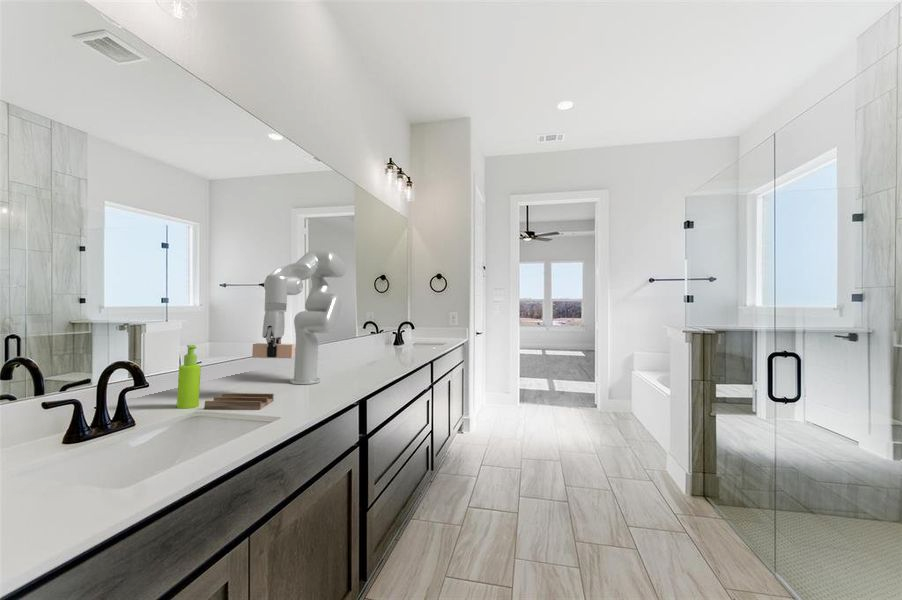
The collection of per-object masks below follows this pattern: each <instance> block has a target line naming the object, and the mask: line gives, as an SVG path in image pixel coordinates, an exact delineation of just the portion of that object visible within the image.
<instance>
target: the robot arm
mask: <svg viewBox="0 0 902 600" xmlns="http://www.w3.org/2000/svg"><path fill="white" fill-rule="evenodd" d="M346 270H347V269H346V264H345V262H344V261H343V259H342V258H340V257H339V256H338V255H337V254H336V253H334V252H333V251H330V250H329V251H328V250H310V251H308V252H306V253H305V254H304V255H302V256H301V258H299V259H298V260H297V261H296V262H294V263H290V264H287V265H285V266H281V267H278V268H277V269H274V270H272V272H271V273H269V274H268V275H267V276H266V277H265V279H264V282H263V288H264V291H265V293H264V315H263V324H262V325H263V326H262V336H261V337H262V338H264V339H265V341H266V343H267V357H276V351H277V346H276V344H282V338H283V336H284V335H285V328H286V327H285V325H286V324H285V318H286V317H285V313H286V312H287V305H288V303H287V300H288V296H296V295H299V294H300V293H301V292H302V291H303V289H304V282H303V281H305V280H308V279H311V280H310V281H311V288H310V291H309V293H308V295H307V298H306V300H305V303H304V308H305V310H304V311H299V312H298V313H297V314H295V316H294V318H293V324H294V331H295V352H294V369H293V370H294V372H293V378H291V379H290V380H289V383H290V384H293V385H314V384H317V383H321V378H319V377H318V358H319V355H318V354H319V341H318V339H317V337H316V335H315V334H330V333H332V332H333V330H334V328H335V326H336V324H337V320H338V317H339V314H340V311H341V308H342V300H341V297H340V296H339V295H338V294H336V293H330V292H331V286H330V285H329V283H328V281H326V280H325V278H342V277H343V276H345V274H346Z"/></svg>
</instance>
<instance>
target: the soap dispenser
mask: <svg viewBox="0 0 902 600" xmlns="http://www.w3.org/2000/svg"><path fill="white" fill-rule="evenodd" d="M186 347H187V354H185V355H183V357H184V358H183V365H179V366H178V376H177V377H178V380H177V398H176V399H177V400H176V408H177V409H180V410H181V409H183V410H184V409H192V408H193V409H194V408H196V407H197V408H198V407H199V405H200V390H201V389H200V386H201V372H202V371H201V370H202V369H201V367H202V366H201V365H200V364H197V361H198V360H197V357H198V355H197V354H195V350H196V349H197V345H196V344H186Z"/></svg>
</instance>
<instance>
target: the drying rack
mask: <svg viewBox="0 0 902 600" xmlns="http://www.w3.org/2000/svg"><path fill="white" fill-rule="evenodd" d="M274 397H275V395H274V393H258V392H257V393H254V392H253V393H249V392H248V393H247V392H246V393H243V392H241V393H239V392H222V393H221V396H214V397H213V399H212V400H204V406H203V407H204V410H251V411H253V410H262V409H263V408H265V407H266V406H268V405H269V404H271V403H273V402H274Z"/></svg>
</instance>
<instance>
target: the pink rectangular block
mask: <svg viewBox="0 0 902 600" xmlns="http://www.w3.org/2000/svg"><path fill="white" fill-rule="evenodd" d="M295 345H296V343H281V344H276V346H277V351H276V357H267V342H263V343H261V342H257V343H253V344H252V351H251V352H252V355H251V357H252V358H253V359H257V358H258V359H293V358H295Z"/></svg>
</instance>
